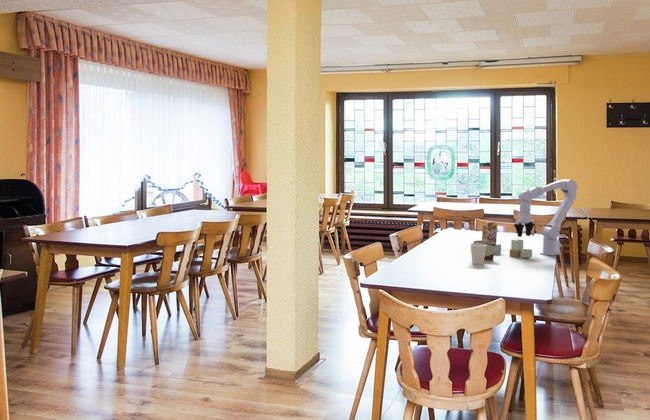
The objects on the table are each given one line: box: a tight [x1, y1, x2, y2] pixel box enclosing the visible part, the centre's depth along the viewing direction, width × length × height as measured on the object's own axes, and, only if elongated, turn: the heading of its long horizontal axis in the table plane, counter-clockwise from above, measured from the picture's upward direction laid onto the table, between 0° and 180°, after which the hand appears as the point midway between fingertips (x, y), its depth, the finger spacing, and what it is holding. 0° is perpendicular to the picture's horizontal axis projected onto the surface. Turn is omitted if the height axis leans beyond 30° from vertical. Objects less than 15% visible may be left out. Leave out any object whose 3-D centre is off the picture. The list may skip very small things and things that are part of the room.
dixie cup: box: [469, 243, 487, 265], centre depth 327 cm, size 8×8×10 cm
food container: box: [472, 239, 497, 262], centre depth 340 cm, size 12×6×10 cm, turn 65°
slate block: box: [494, 243, 502, 256], centre depth 360 cm, size 4×4×6 cm
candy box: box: [481, 221, 498, 244], centre depth 386 cm, size 9×4×15 cm, turn 123°
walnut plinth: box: [509, 248, 521, 259], centre depth 351 cm, size 6×6×4 cm
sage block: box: [510, 238, 524, 251], centre depth 351 cm, size 4×4×6 cm
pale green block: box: [520, 248, 533, 260], centre depth 345 cm, size 3×6×5 cm, turn 72°
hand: (523, 236), depth 357 cm, fingers open, 7 cm apart
